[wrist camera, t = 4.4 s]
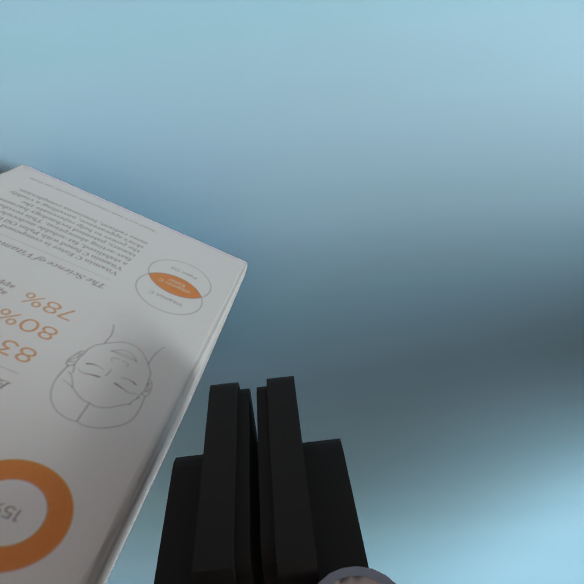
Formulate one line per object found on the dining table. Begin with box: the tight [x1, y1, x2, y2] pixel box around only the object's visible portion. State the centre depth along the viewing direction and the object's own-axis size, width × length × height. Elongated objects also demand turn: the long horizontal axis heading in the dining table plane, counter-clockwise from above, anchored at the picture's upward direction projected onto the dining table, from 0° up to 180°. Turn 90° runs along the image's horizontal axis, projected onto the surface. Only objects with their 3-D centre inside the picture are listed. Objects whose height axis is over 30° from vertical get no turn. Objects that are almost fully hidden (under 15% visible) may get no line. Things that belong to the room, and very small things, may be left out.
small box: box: [0, 165, 247, 584], centre depth 13 cm, size 8×6×13 cm
